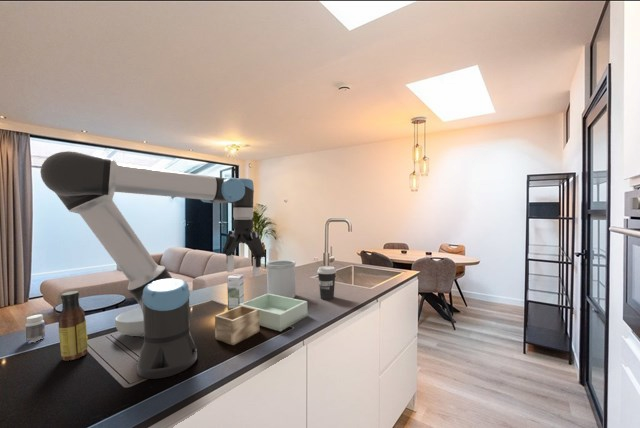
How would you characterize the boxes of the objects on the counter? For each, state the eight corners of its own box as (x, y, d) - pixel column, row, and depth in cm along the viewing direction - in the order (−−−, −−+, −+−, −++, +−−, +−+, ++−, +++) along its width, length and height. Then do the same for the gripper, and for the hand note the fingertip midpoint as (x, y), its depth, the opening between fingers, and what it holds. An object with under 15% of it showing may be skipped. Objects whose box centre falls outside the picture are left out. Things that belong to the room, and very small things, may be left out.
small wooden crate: (232, 345, 91) (232, 321, 91) (215, 338, 96) (214, 315, 96) (259, 331, 101) (259, 309, 101) (242, 326, 106) (241, 305, 106)
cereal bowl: (180, 325, 108) (179, 307, 108) (142, 345, 92) (141, 324, 92) (145, 321, 113) (144, 303, 112) (103, 339, 97) (102, 319, 96)
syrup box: (244, 305, 130) (244, 274, 129) (239, 309, 124) (239, 277, 123) (232, 304, 130) (232, 273, 130) (227, 309, 124) (226, 277, 124)
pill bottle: (47, 339, 98) (46, 315, 98) (28, 344, 94) (27, 320, 94) (42, 336, 100) (41, 312, 100) (23, 341, 96) (22, 317, 96)
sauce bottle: (85, 349, 90) (83, 288, 90) (90, 355, 86) (88, 291, 86) (57, 357, 85) (55, 293, 85) (61, 365, 81) (59, 296, 81)
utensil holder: (261, 300, 136) (260, 264, 135) (273, 291, 150) (273, 259, 150) (290, 302, 132) (289, 265, 132) (299, 293, 147) (299, 260, 146)
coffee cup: (314, 296, 141) (313, 266, 140) (331, 293, 145) (330, 265, 144) (322, 302, 132) (322, 270, 132) (340, 299, 136) (339, 268, 136)
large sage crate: (280, 331, 101) (280, 314, 101) (238, 319, 113) (238, 304, 113) (307, 315, 115) (307, 301, 115) (268, 306, 127) (267, 293, 127)
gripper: (274, 219, 105) (274, 275, 105) (228, 218, 118) (227, 268, 118) (261, 219, 99) (260, 279, 99) (213, 218, 111) (213, 271, 111)
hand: (242, 273), depth 108 cm, fingers open, 13 cm apart
